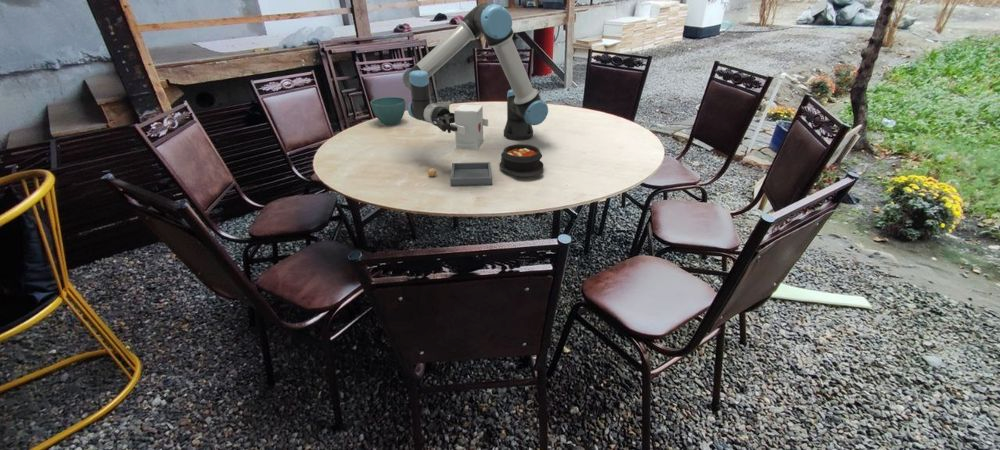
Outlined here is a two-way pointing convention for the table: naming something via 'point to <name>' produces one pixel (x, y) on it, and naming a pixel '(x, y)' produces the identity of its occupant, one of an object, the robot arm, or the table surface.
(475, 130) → the supplement box
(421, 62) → the robot arm
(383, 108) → the plant pot
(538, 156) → the casserole
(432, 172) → the ball
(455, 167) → the tray
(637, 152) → the table surface
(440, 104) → the food container
